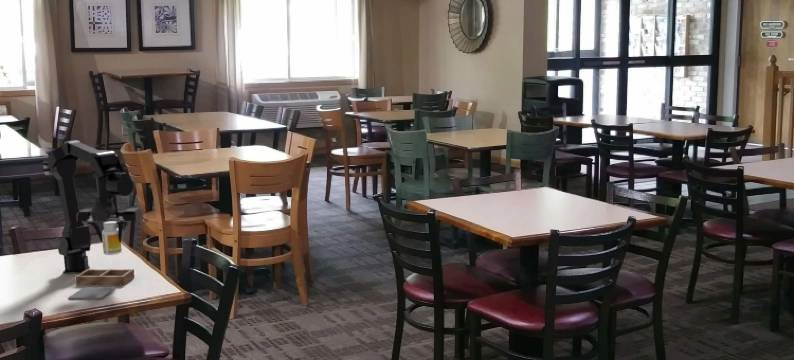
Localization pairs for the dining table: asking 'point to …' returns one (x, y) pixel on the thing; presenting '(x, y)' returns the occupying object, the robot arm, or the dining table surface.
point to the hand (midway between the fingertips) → (111, 241)
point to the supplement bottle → (111, 238)
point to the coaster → (92, 293)
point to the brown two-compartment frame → (105, 277)
